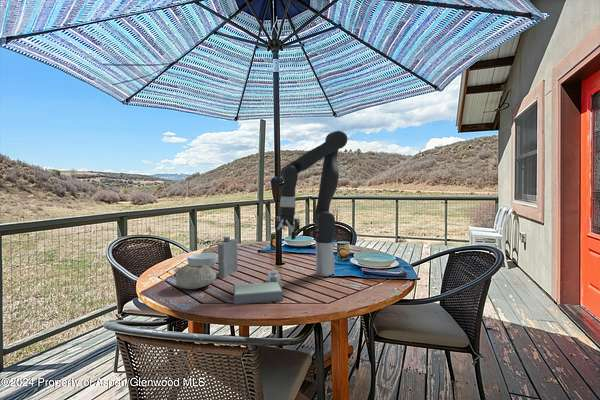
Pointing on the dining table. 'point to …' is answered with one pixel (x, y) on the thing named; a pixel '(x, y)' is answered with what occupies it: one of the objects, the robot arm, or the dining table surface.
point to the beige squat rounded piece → (195, 276)
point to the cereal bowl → (203, 259)
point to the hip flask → (227, 257)
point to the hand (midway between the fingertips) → (286, 238)
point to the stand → (257, 292)
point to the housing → (274, 277)
